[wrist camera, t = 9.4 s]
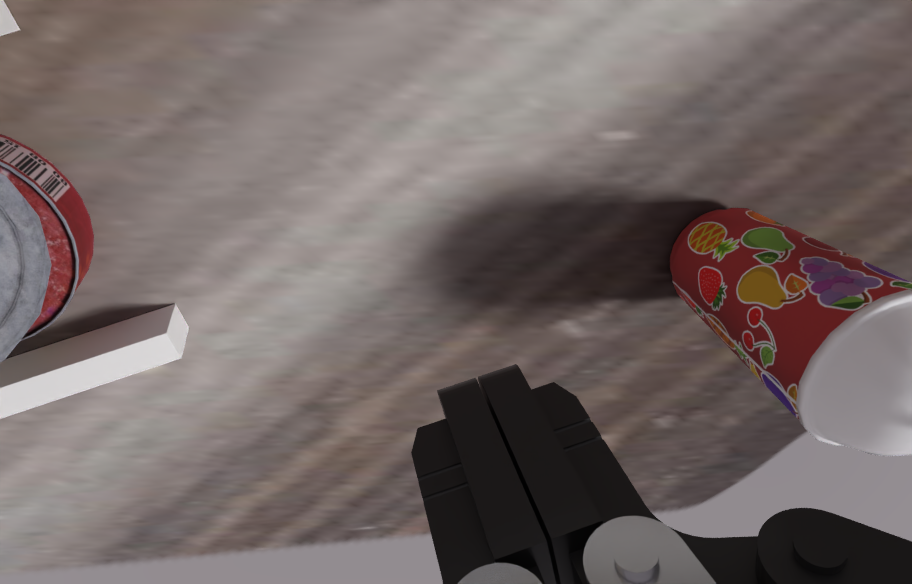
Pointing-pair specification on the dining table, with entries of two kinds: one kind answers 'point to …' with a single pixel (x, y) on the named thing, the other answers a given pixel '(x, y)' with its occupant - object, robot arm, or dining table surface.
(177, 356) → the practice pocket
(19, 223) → the canned food
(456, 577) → the robot arm
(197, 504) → the dining table surface
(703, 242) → the smoothie
